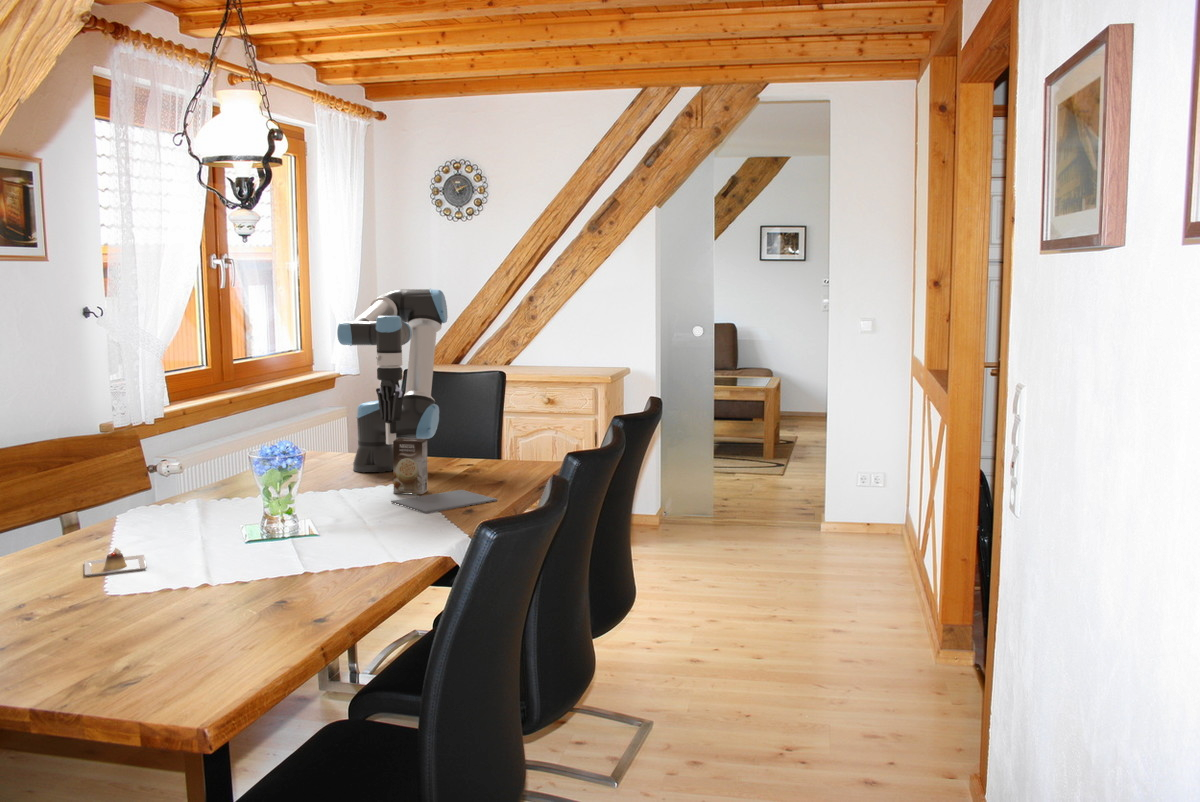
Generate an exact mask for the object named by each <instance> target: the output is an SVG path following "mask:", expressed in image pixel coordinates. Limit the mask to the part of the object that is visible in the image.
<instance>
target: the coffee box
mask: <svg viewBox="0 0 1200 802" xmlns="http://www.w3.org/2000/svg"><path fill="white" fill-rule="evenodd" d="M392 472H393V473H392V474H393V493H412V494H422V495H425V493H426V492H428V439H416V438H398V439H396V440H394V441H393V471H392ZM412 494H411V495H412Z"/></svg>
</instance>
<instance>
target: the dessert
mask: <svg viewBox="0 0 1200 802" xmlns="http://www.w3.org/2000/svg"><path fill="white" fill-rule="evenodd" d="M121 552H122V551H121V549H119V548H118V547H115V548H114V549H113V551H112V552H111V553H109V554H107V555H106V558H100V559H91V560H90V559H89V560H84V567H83V569H84V572H83V573H84V575H85V576H87V577H93V576H102V575H111V574H119V573H127V572H136V571H144V570H145V569H147V568H148V567H147V566H148V565H147V562H146V557H145V554H139V555H138V554H137V555H129V556H128V555H127V556H124V554H123V553H121ZM132 560H138V564H139V567H138V568H130V569H128V568H127V569H124V568H126V567H128V566H127V562H126V561H132ZM95 564H104V567H103V569H104V570H108V571H104V572H93V573H92V565H95ZM121 569H122V570H121ZM110 570H111V571H110Z"/></svg>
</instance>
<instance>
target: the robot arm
mask: <svg viewBox="0 0 1200 802" xmlns="http://www.w3.org/2000/svg"><path fill="white" fill-rule="evenodd" d="M448 317H449V316H448V305H447V301H446V296H445V294H444V292H443V291H442V290H441V289H432V288H429V289H426V288H425V289H424V288H423V289H422V288H421V289H415V288H413V289H409V288H408V289H407V288H406V289H405V288H401V289H400V288H399V289H395V290H394V289H393V290H391V291H388V292H385V293H383V294H381V295H379V296H378V297H376V298H375V299H373V301H372V302H371V303H370V306H369V307H368V308H367V309H366V310H364V312H362V313H361V314H360V315H359V316H357V317H356V318H355V319H354V320H346V321H345V320H344V321H340V322H339V323H338V325H337V328H336V329H337V340H338V342H339V343H340V345H343V346H349V347H351V346H376V365H377V366H378V367H377V368H376V379H377V380H378V381H380V387H378V388H376V389H375V392H376V395H377V399H378V400H371V401H366V402H363V403H360V404H359V405H358V406H357V411H356V412H357V417H356V419H357V421H356V423H357V448H356V449H357V450H356V453H355V456H354V459H353V464H352V470H353V471H354V472H356V473H357V472H358V473H365V472H379V473H386V472H385V471H389V472H393V471H392V470H393V441H394V440H396V439H398V438H416V439H427V440H428V439H431V438H433V437H434V435H435V434H436V432H437V429H438V426H439V422H440V407H439V405H438V404H435V403H436V401H435V399H434V398H433V397H432V387H433V377H434V365H435V352H436V340H437V332H439V331H440V330H441V329H442V324H445V323H447V322H448ZM409 341H410V343H409ZM408 343H409V351H408V361H407V362H408V363H407V374H406V383H405V391H404V390H402V389H400V387H401V386H400V380H403V368H402V366H403V349H402V347H403V346H404V345H406V344H408Z"/></svg>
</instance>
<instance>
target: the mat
mask: <svg viewBox="0 0 1200 802" xmlns="http://www.w3.org/2000/svg"><path fill="white" fill-rule="evenodd" d="M492 501H494V502H498V498H495V497H491V496H487V495H483V494H480V493H475V492H472V491H468V490H464V489H458V490H457V489H455V490H452V491H444V492H439V493H431V494H426V495H425V494H424V495H420V496H419V495H418V496H411V497H408V498H407V497H406V498H400V499H396V500H395V499H394V500H391V501H390V502H393V503H396V504H399V505H398V506H400V505H403V506H406V507H409V508H408V509H410V508H412V509H411V510H413V509H415V510H414V511H416V510H418V511H417V512H419V511H420V512H419V513H423V514H430V513H431V512H432V513H437V512H442V511H447V510H449V511H450V510H453V509H454V508H455V509H459V507H460V508H464V507H465V506H466V507H471V506H470V505H472V506H475V505H476V504H477V505H482V504H481V503H483V504H487V503H486V502H489V503H493V502H492ZM393 503H392V504H393ZM396 504H395V505H396ZM477 505H476V506H477ZM403 506H402V507H403ZM406 507H405V508H406ZM466 507H465V508H466ZM432 513H431V514H432Z"/></svg>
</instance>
